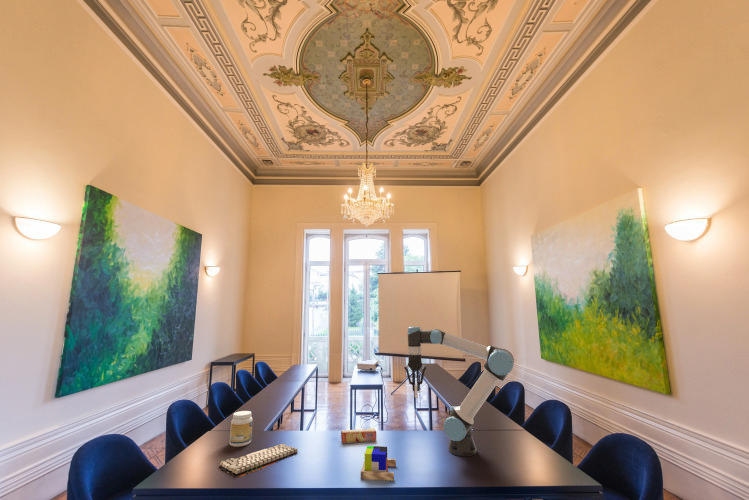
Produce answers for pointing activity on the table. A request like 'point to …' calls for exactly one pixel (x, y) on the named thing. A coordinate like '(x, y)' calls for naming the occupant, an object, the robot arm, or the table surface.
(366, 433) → the snack package
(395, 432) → the table surface
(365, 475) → the wooden open frame
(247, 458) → the mechanical keyboard
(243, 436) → the supplement tub
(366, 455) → the puzzle toy
